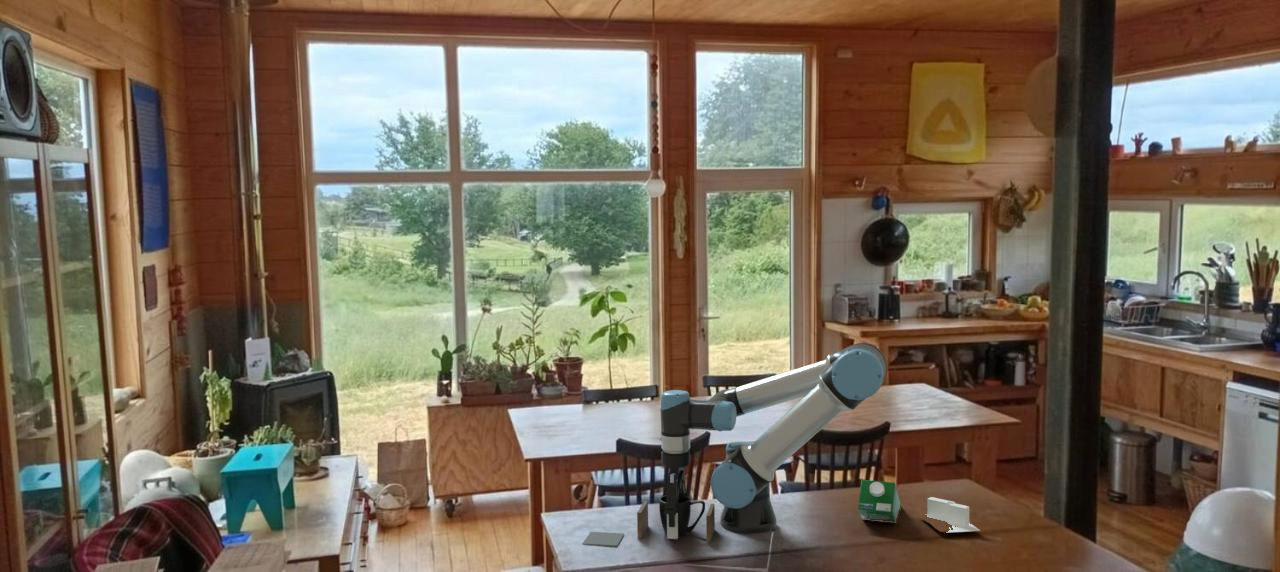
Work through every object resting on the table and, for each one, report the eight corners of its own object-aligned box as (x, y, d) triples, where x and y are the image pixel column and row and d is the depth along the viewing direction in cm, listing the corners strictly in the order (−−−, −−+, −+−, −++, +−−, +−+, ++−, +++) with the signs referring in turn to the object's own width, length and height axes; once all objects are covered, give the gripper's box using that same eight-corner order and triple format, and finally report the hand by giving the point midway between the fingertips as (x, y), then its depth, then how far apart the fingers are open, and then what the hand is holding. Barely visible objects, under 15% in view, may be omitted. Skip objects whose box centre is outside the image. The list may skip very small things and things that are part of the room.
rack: (714, 529, 243) (714, 503, 242) (710, 542, 233) (710, 515, 233) (644, 526, 246) (644, 500, 246) (637, 538, 237) (637, 512, 236)
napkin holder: (916, 515, 254) (916, 494, 253) (955, 512, 255) (955, 492, 255) (940, 533, 239) (940, 511, 239) (981, 530, 240) (981, 509, 240)
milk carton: (901, 507, 266) (894, 479, 246) (899, 538, 262) (892, 512, 241) (869, 504, 269) (860, 476, 249) (867, 535, 265) (857, 509, 245)
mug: (705, 540, 235) (704, 503, 234) (658, 539, 236) (658, 503, 235) (705, 529, 243) (705, 494, 243) (660, 528, 244) (660, 494, 244)
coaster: (624, 535, 239) (624, 533, 239) (616, 547, 231) (616, 545, 230) (590, 533, 241) (590, 531, 241) (582, 545, 232) (582, 543, 232)
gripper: (668, 438, 251) (669, 513, 253) (653, 461, 227) (654, 545, 228) (695, 439, 250) (696, 515, 251) (683, 462, 225) (684, 546, 227)
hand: (676, 529), depth 240 cm, fingers open, 13 cm apart
